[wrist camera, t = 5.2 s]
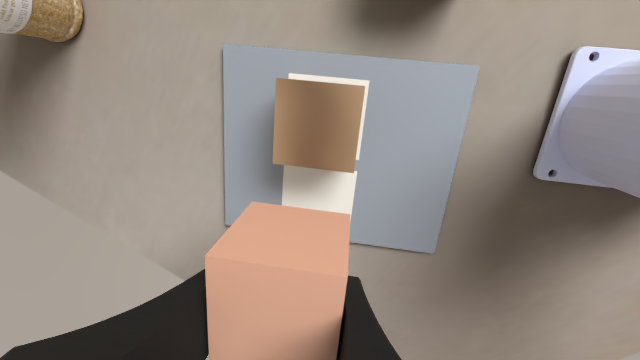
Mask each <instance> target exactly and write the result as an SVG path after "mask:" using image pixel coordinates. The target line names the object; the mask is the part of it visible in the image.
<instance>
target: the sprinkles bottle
mask: <svg viewBox="0 0 640 360" xmlns="http://www.w3.org/2000/svg"><path fill="white" fill-rule="evenodd" d="M82 14H83V8H82V3H81V0H0V33H7V34H11V33H13V34H21V35H26V36H33V37H40V38H44V39H46V40H49V41H53V42H64V41H66V40H69V39H71V38H73V37H74V36H75V35H76V34H77V33H78V31H79V30H80V26H81V23H82V20H83V15H82Z"/></svg>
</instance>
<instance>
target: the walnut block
mask: <svg viewBox="0 0 640 360" xmlns="http://www.w3.org/2000/svg"><path fill="white" fill-rule="evenodd" d="M364 92H365V86H360V85H349V84H339V83H328V82H317V81H307V80H296V79H284V78H276V91H275V116H274V141H273V164H280V165H288V166H297V167H305V168H314V169H322V170H330V171H339V172H347V173H354V168H355V161H356V153H357V146H358V138H359V130H360V123H361V115H362V108H363V100H364Z"/></svg>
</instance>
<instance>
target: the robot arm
mask: <svg viewBox="0 0 640 360" xmlns="http://www.w3.org/2000/svg"><path fill="white" fill-rule="evenodd" d="M591 53H593V54H594V58H593V60H592V61H590V60H589V56H590V54H591ZM551 170H553V173H552V175H550V176H548V173H549V171H551ZM533 174H534V176H535V177H536V178H538V179H541V180H548V181H557V182H565V183H574V184H583V185H591V186H600V187H609V188H616V189H618V190H620V191H623V192H625V193H628V194H630V195H633V196H635V197H638V198H640V50H627V49H614V48H602V47H589V46H586V47H580V48H578V49H576V50H575V51H574V52H573V53H572V55H571V58H570V61H569V64H568V67H567V70H566V73H565V76H564V79H563V82H562V85H561V88H560V91H559V94H558V97H557V100H556V103H555V106H554V109H553V112H552V115H551V119H550V122H549V125H548V128H547V131H546V134H545V137H544V140H543V143H542V146H541V149H540V152H539V155H538V158H537V161H536V164H535V167H534V170H533ZM208 354H209V347H208V323H207V299H206V276H205V269H204V270H202V271H201V272H199V273H197V274H196V275H194V276H193V277H191V278H189V279H188V280H186V281H185V282H183V283H181V284H179V285H178V286H176V287H174V288H173V289H171V290H169V291H167V292H165V293H164V294H162V295H160V296H158V297H156V298H154V299H152V300H150V301H148V302H146V303H144V304H142V305H140V306H138V307H135V308H133V309H131V310H129V311H126V312H124V313H121V314H119V315H116V316H114V317H111V318H109V319H106V320H104V321H101V322H98V323H96V324H93V325H90V326H87V327H84V328H81V329H78V330H75V331H72V332H68V333H65V334H62V335H58V336H55V337H52V338H47V339H44V340H40V341H36V342H33V343H29V344H25V345H21V346H17V347H14V348H12V349H11V350H10V351H9V352H7V353H6V354H5V355H3V356H2V357H1V358H0V360H205V359H206V358H207V356H208ZM336 360H402V359H401V358H400V357H399V355H398V354H397V352H396V351H395V349H394V348H393V346H392V345H391V343H390V342H389V340H388V339H387V337H386V335H385V334H384V332H383V330H382V328H381V326H380V325H379V323H378V321H377V319H376V317H375V315H374V313H373V311H372V309H371V307H370V305H369V302H368V300H367V298H366V295H365V293H364V290H363V287H362V284H361V280H360V279H359V278H358V277H353V276H348V279H347V286H346V293H345V300H344V307H343V314H342V321H341V328H340V335H339V343H338V350H337V357H336Z"/></svg>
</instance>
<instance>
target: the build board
mask: <svg viewBox="0 0 640 360" xmlns="http://www.w3.org/2000/svg"><path fill="white" fill-rule="evenodd" d="M479 68H480V66H474V65H463V64H451V63H440V62H428V61H416V60H405V59H393V58H382V57H370V56H359V55H347V54H335V53H324V52H312V51H301V50H289V49H277V48H266V47H254V46H243V45H231V44H223V87H224V164H225V225H229V226H231V225H232V224H233V223H234V222H235V221H236V219H237V218H238V217H239V216H240V215H241V214H242V213H243V211H244V210H245V209H246V208H247V207H248V206H249V205H250V203H251V202H260V203H267V204H275V205H283V206H290V207H298V208H306V209H313V210H321V211H329V212H337V213H344V214H350V237H349V242H352V243H359V244H367V245H374V246H381V247H388V248H396V249H403V250H410V251H417V252H425V253H432V254H434V253H435V249H436V245H437V240H438V236H439V232H440V228H441V224H442V220H443V216H444V212H445V208H446V203H447V199H448V195H449V191H450V187H451V183H452V179H453V175H454V171H455V166H456V162H457V158H458V154H459V150H460V146H461V142H462V138H463V134H464V129H465V125H466V121H467V117H468V113H469V109H470V105H471V101H472V97H473V92H474V88H475V84H476V80H477V76H478V72H479ZM276 78H284V79H296V80H307V81H317V82H328V83H339V84H349V85H360V86H365V92H364V100H363V108H362V115H361V123H360V130H359V138H358V146H357V153H356V161H355V168H354V173H347V172H339V171H330V170H322V169H314V168H305V167H297V166H288V165H280V164H273V141H274V116H275V91H276Z"/></svg>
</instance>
